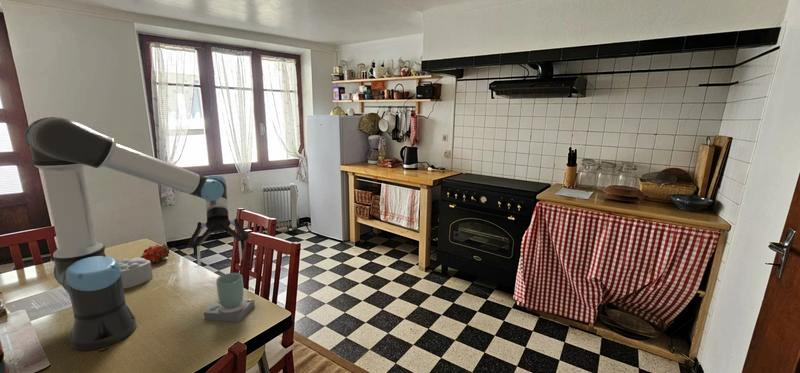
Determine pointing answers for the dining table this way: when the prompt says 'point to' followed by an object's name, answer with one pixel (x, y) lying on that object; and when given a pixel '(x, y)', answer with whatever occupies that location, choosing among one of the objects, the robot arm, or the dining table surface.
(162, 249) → the dragon fruit
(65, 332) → the dining table surface
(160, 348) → the dining table surface
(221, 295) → the cup
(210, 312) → the soap dish with soap
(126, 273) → the white bumpy block
